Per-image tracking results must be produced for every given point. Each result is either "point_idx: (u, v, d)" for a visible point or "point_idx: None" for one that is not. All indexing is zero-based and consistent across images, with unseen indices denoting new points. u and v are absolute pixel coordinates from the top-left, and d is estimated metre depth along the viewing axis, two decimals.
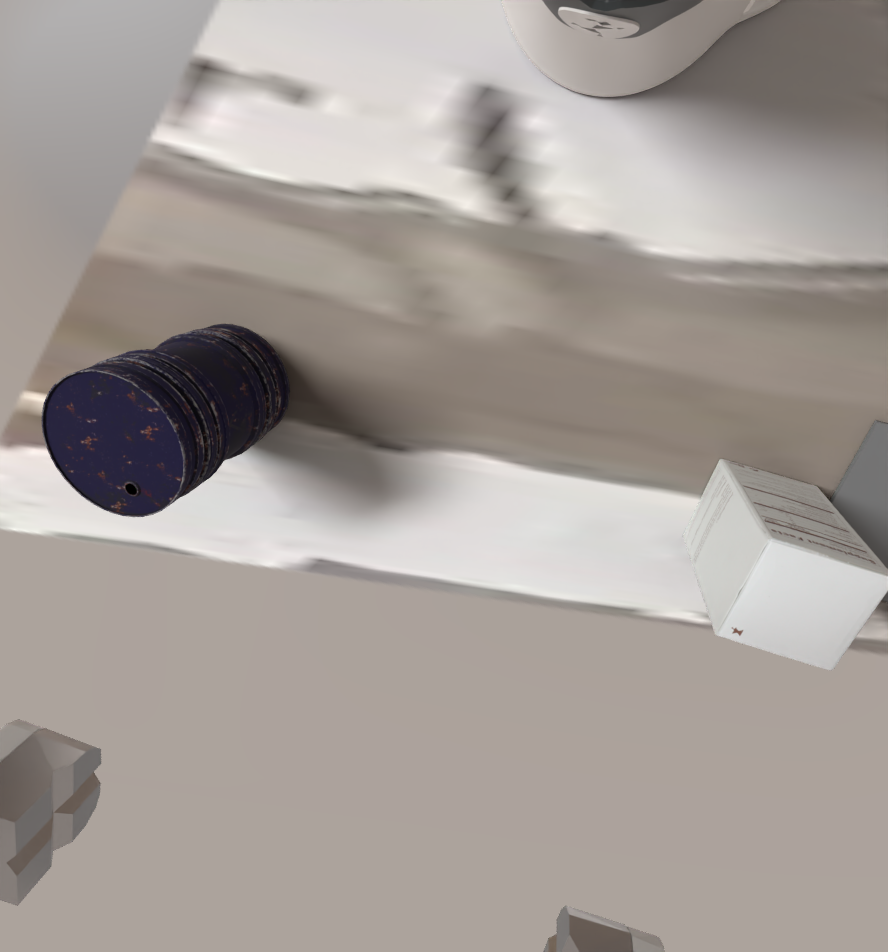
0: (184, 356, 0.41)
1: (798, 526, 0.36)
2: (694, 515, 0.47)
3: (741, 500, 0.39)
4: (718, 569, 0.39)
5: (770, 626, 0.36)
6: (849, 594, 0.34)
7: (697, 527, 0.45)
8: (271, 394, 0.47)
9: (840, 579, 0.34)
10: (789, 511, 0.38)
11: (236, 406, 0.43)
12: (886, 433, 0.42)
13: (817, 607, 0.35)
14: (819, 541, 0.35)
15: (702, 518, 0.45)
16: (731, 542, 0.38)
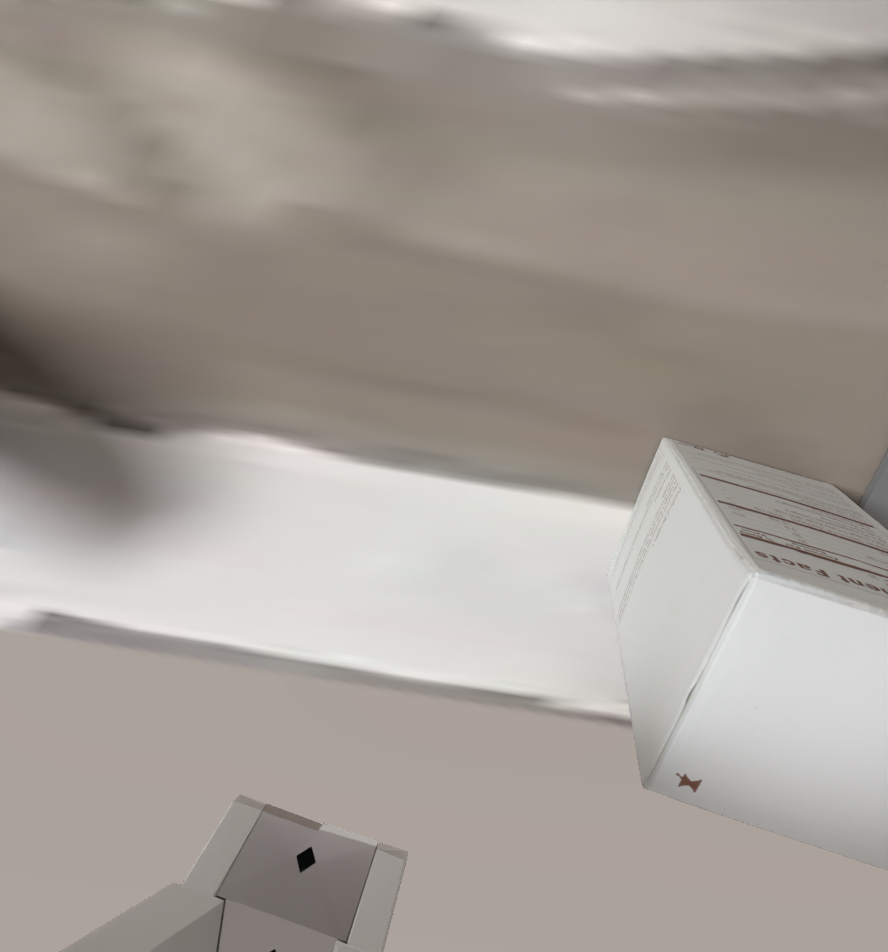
0: None
1: (812, 546, 0.17)
2: (623, 538, 0.27)
3: (695, 497, 0.19)
4: (651, 638, 0.19)
5: (762, 775, 0.16)
6: None
7: (625, 558, 0.25)
8: None
9: None
10: (790, 520, 0.19)
11: None
12: None
13: (868, 734, 0.15)
14: (863, 579, 0.15)
15: (633, 542, 0.25)
16: (675, 583, 0.19)
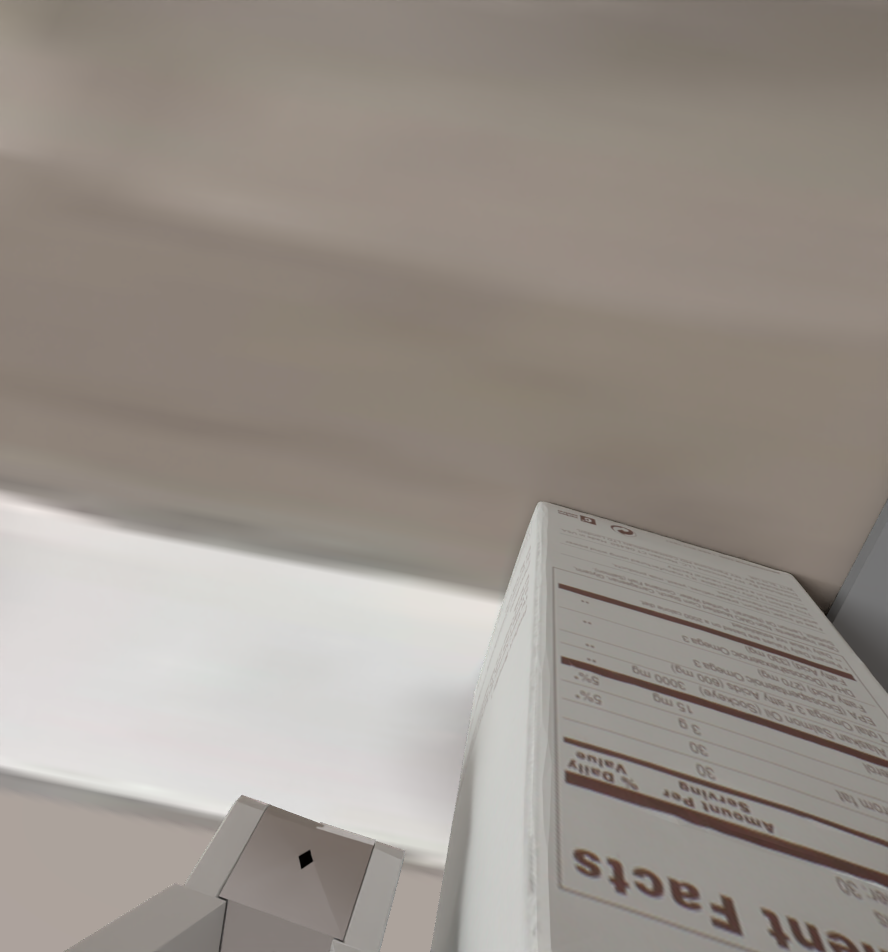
0: None
1: (722, 789, 0.08)
2: (488, 648, 0.18)
3: (529, 645, 0.11)
4: (450, 907, 0.11)
5: None
6: None
7: (481, 687, 0.17)
8: None
9: None
10: (696, 695, 0.10)
11: None
12: None
13: None
14: (822, 913, 0.07)
15: (488, 667, 0.16)
16: (481, 819, 0.10)
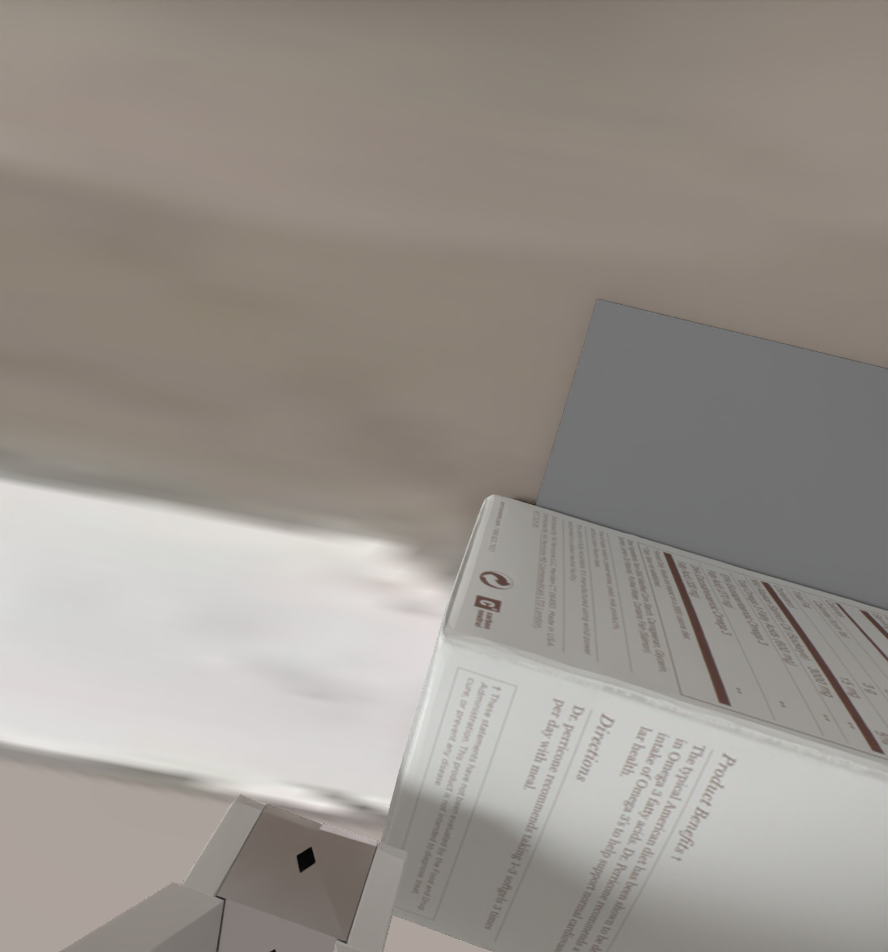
0: None
1: None
2: (416, 847, 0.12)
3: (848, 775, 0.10)
4: None
5: None
6: None
7: (493, 880, 0.12)
8: None
9: None
10: (816, 664, 0.12)
11: None
12: (626, 333, 0.15)
13: None
14: None
15: (520, 855, 0.11)
16: None
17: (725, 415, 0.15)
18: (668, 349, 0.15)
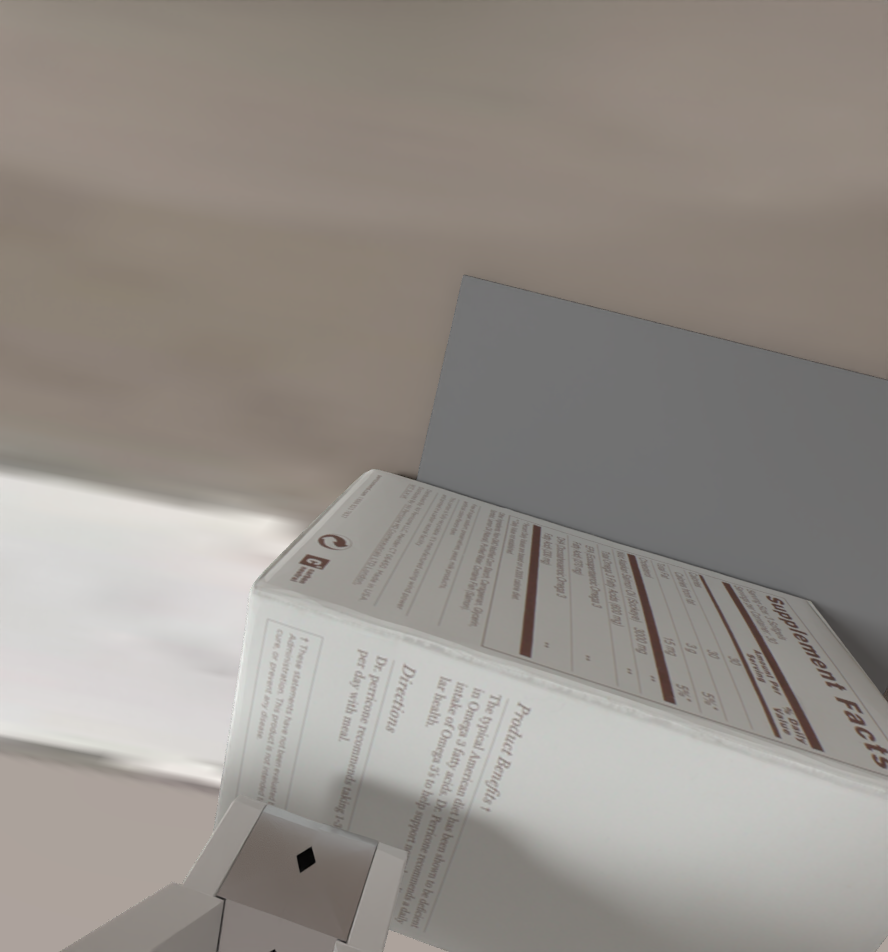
0: None
1: (742, 658, 0.12)
2: None
3: (634, 723, 0.10)
4: (647, 936, 0.11)
5: None
6: None
7: None
8: None
9: None
10: (644, 626, 0.12)
11: None
12: (491, 308, 0.15)
13: None
14: (803, 660, 0.13)
15: (342, 807, 0.12)
16: (687, 858, 0.11)
17: (590, 390, 0.16)
18: (532, 324, 0.15)
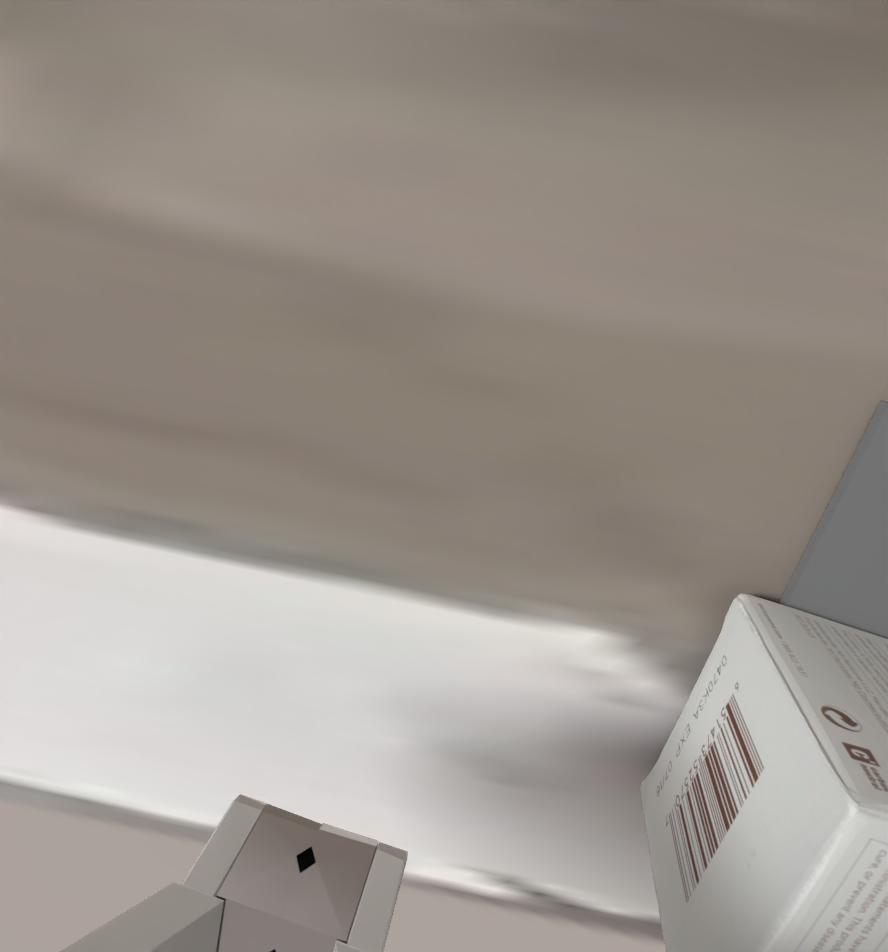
0: None
1: None
2: None
3: None
4: None
5: None
6: None
7: None
8: None
9: None
10: None
11: None
12: None
13: None
14: None
15: None
16: None
17: None
18: None
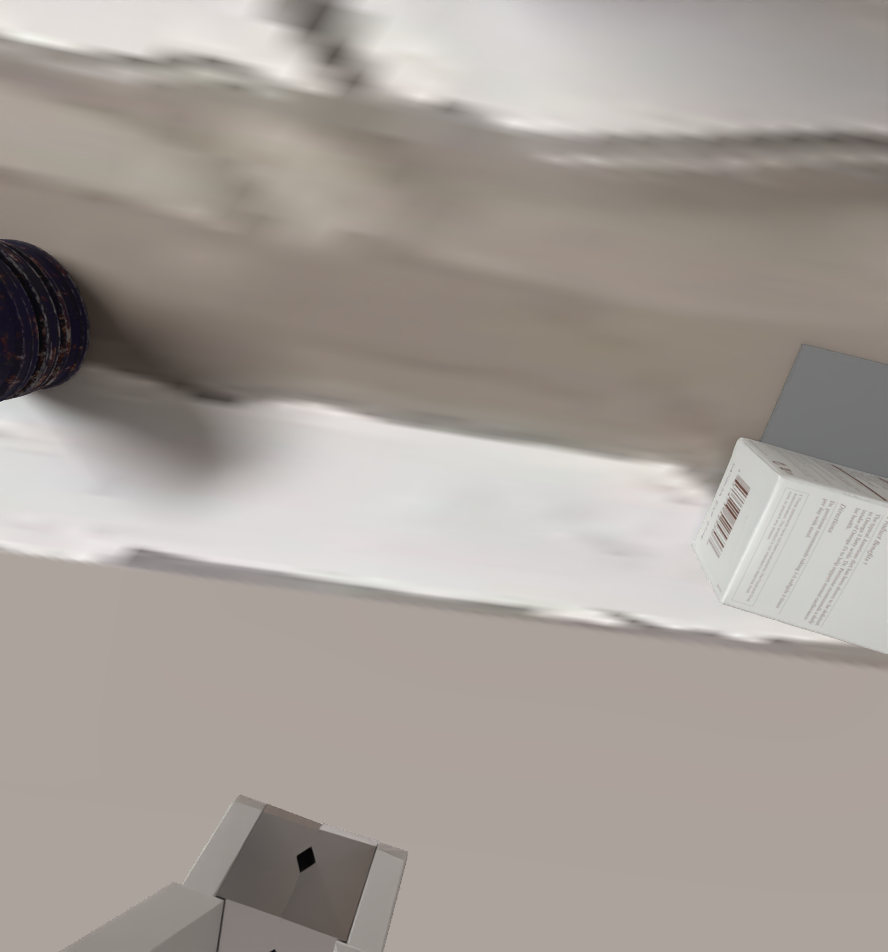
0: None
1: None
2: (753, 569, 0.29)
3: None
4: None
5: None
6: None
7: (784, 582, 0.29)
8: (48, 318, 0.36)
9: None
10: None
11: None
12: (817, 360, 0.33)
13: None
14: None
15: (799, 568, 0.29)
16: None
17: (861, 398, 0.33)
18: (836, 367, 0.33)
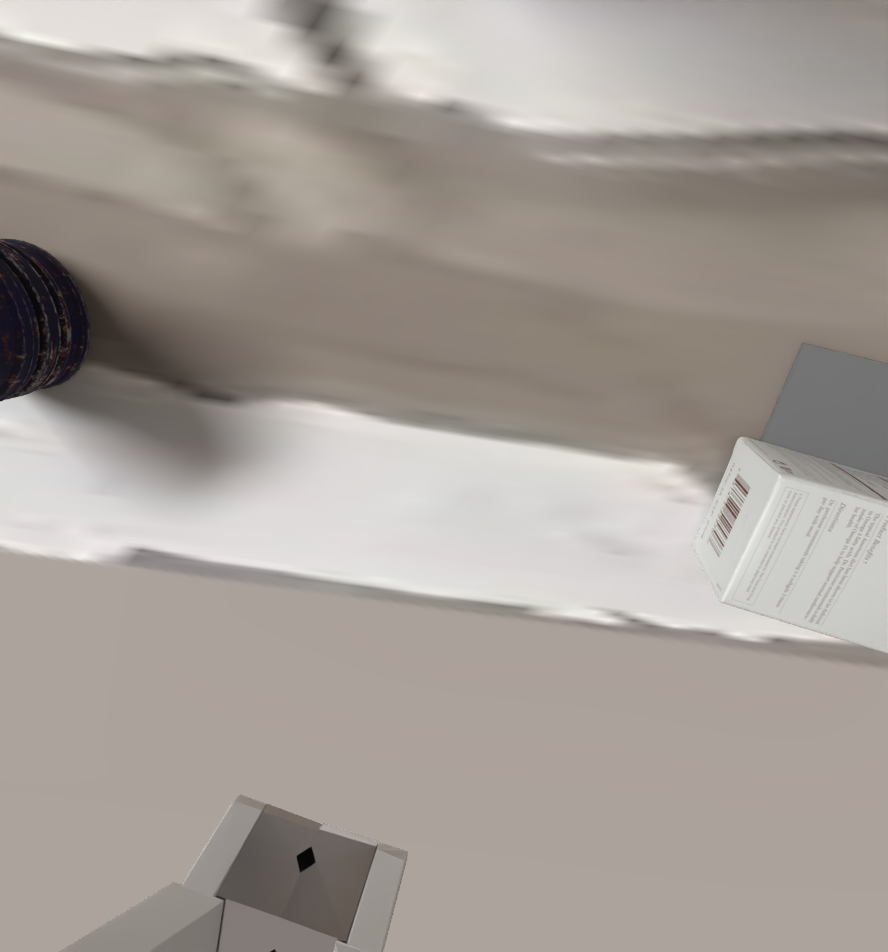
0: None
1: None
2: (753, 568, 0.29)
3: None
4: None
5: None
6: None
7: (784, 581, 0.29)
8: (48, 317, 0.36)
9: None
10: None
11: None
12: (817, 359, 0.33)
13: None
14: None
15: (799, 567, 0.29)
16: None
17: (861, 397, 0.33)
18: (836, 366, 0.33)
